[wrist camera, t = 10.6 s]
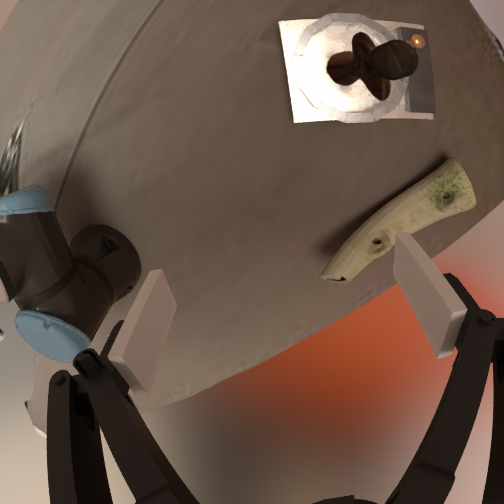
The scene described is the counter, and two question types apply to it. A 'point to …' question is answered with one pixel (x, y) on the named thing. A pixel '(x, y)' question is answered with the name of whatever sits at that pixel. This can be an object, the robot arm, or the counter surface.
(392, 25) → the white flat device
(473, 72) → the counter surface
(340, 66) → the figurine
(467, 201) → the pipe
